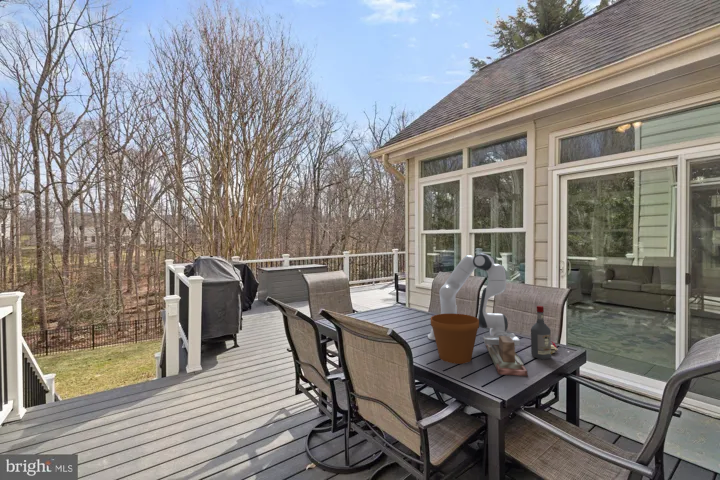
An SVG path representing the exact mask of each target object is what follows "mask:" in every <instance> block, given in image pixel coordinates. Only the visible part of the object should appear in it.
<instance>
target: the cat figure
mask: <svg viewBox="0 0 720 480" xmlns="http://www.w3.org/2000/svg"><path fill="white" fill-rule="evenodd" d="M558 350H559V349H558V348H557V345H556V344H555V342H553V341H552V340H551V355H552V354H553V353H556V351H558Z"/></svg>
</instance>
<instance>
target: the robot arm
mask: <svg viewBox="0 0 720 480" xmlns="http://www.w3.org/2000/svg"><path fill="white" fill-rule="evenodd" d="M476 269H477V270H478V269H479V270H481V271H484V272H486V273H487V280H488V281H487V285H486V286H485V288H483V289H482V291H481V297H480V303H479V308H478V313H477V317H476V318H478V319H479V328H481V329H489V334H490V335H484V336H483V337H482V340H483V341H484V345H485V346H486V345H499V336H510V337H511V338H512V340H513V341H514V343H515V347H520V346H521V340H520V338H519V337H518V336H516V335H515V333H513V332H507V330H508V328H509V322H508V318H507V317H506V316H505V314H504V313H500V312H497V313H496V312H494V313H493V312H486V310H487V304H488V301H489V299H490V298H492V297H495V296H497V295H500V294H502V293H504V291H506V288H507V275H506V271H505V267H504V266H503V265H502V264H499V263H496V261H495V259H494V257H492V256H491V255H489V254H486V253H477V254H476V255H475V256H473V255H470V254H469V255H468V254H467V255H465V256H464V257H463V258H462V259H461V260H460V261H459V262H458V264H457V265H456V266H455V267H454V269H453V271H451V273H450V275H449V276H448V277H447V279H446V281H445V282H444V284H443V285H442V286H441V287H440V288H439V290H438V291H439V303H440V314H458V313H457V312H458V310H457V309H458V307H457V300H456V299H457V297H456V295H457V294H458V293H459V291H460V289H461V288H462V287H463V286H464V284H465V283H466V281H468V279H469V278H470V277H471V274H473V272H474V270H476ZM427 339H429V340H433V341H436V340H435V336H434V332H433V328H432V327H431V330H430V333H428V334H427Z"/></svg>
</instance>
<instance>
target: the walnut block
mask: <svg viewBox="0 0 720 480" xmlns="http://www.w3.org/2000/svg"><path fill="white" fill-rule="evenodd" d="M515 347H516V346H515V343H514V341H513V340H512V338H511V337H510V336H499V355H500V357H501V358H502V360H503V362H513V363H515V352H516V351H515V350H516V348H515Z"/></svg>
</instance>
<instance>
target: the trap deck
mask: <svg viewBox="0 0 720 480" xmlns="http://www.w3.org/2000/svg"><path fill="white" fill-rule="evenodd" d="M485 346H486V348H487V351H488V353H489V356H490V357H491V360H492V363H493V364H494V367H495V369H496V371H497V374H498V375H503V376H504V375H505V376H520V377H528V370H527V368H526V367H525V366H524V363H523V362H522V360H521V358H520V357H519V355H518V354H517V352H516V351H515V363H513V362H503V360H502V358H501V357H500V355H499V345H486V344H485Z"/></svg>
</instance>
